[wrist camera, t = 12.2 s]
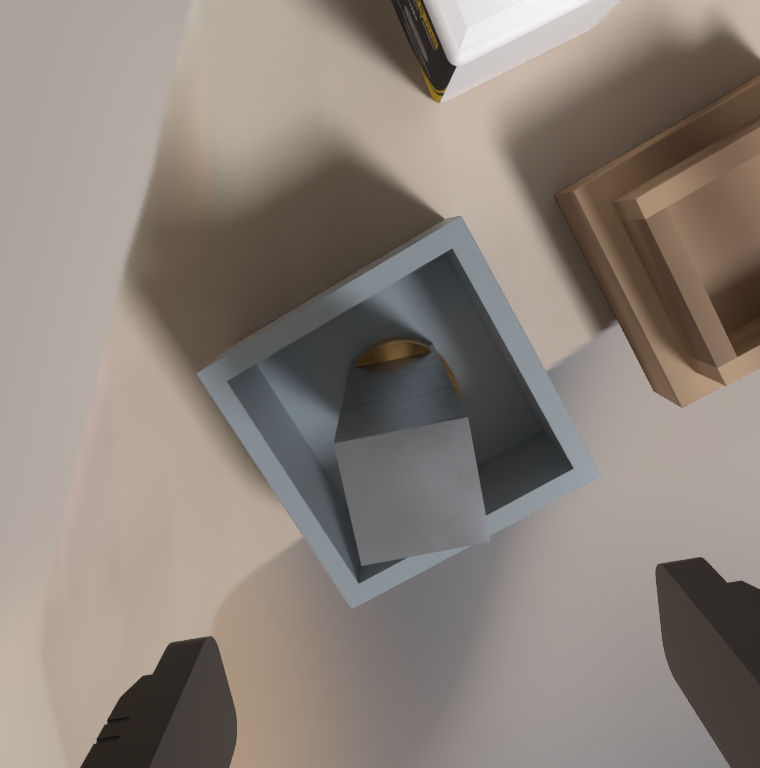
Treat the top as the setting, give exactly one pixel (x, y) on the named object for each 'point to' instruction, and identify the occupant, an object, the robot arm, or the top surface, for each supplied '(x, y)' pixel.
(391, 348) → the strut
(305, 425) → the bin
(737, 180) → the socket block
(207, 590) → the top surface
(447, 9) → the medicine bottle
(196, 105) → the top surface
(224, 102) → the top surface
